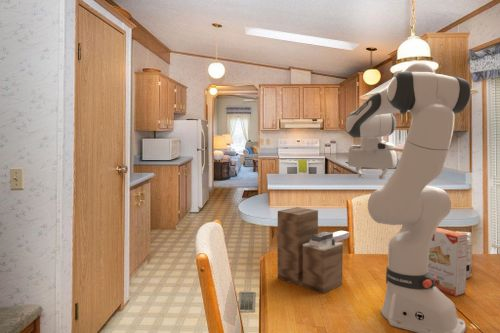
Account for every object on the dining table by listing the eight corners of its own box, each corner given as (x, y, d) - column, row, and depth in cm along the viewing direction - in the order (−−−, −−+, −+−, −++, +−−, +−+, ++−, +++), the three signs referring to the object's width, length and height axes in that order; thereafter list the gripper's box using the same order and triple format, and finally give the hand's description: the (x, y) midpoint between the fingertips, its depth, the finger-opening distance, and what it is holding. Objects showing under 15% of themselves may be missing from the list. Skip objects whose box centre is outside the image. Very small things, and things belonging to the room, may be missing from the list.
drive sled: (349, 237, 144) (349, 228, 144) (318, 247, 130) (319, 237, 130) (340, 235, 147) (340, 226, 147) (309, 245, 133) (309, 235, 133)
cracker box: (419, 283, 138) (420, 227, 137) (430, 280, 141) (431, 225, 140) (455, 297, 126) (457, 235, 124) (466, 293, 128) (468, 233, 127)
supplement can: (449, 278, 143) (450, 239, 142) (444, 271, 151) (445, 234, 150) (473, 280, 141) (474, 241, 140) (467, 273, 149) (468, 235, 148)
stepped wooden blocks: (342, 284, 137) (343, 214, 136) (323, 293, 129) (324, 219, 127) (297, 270, 152) (297, 207, 150) (277, 278, 144) (277, 211, 142)
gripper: (345, 145, 159) (344, 177, 160) (391, 145, 145) (391, 180, 146) (353, 145, 164) (352, 176, 165) (399, 145, 149) (398, 179, 150)
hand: (371, 178), depth 155 cm, fingers open, 8 cm apart
